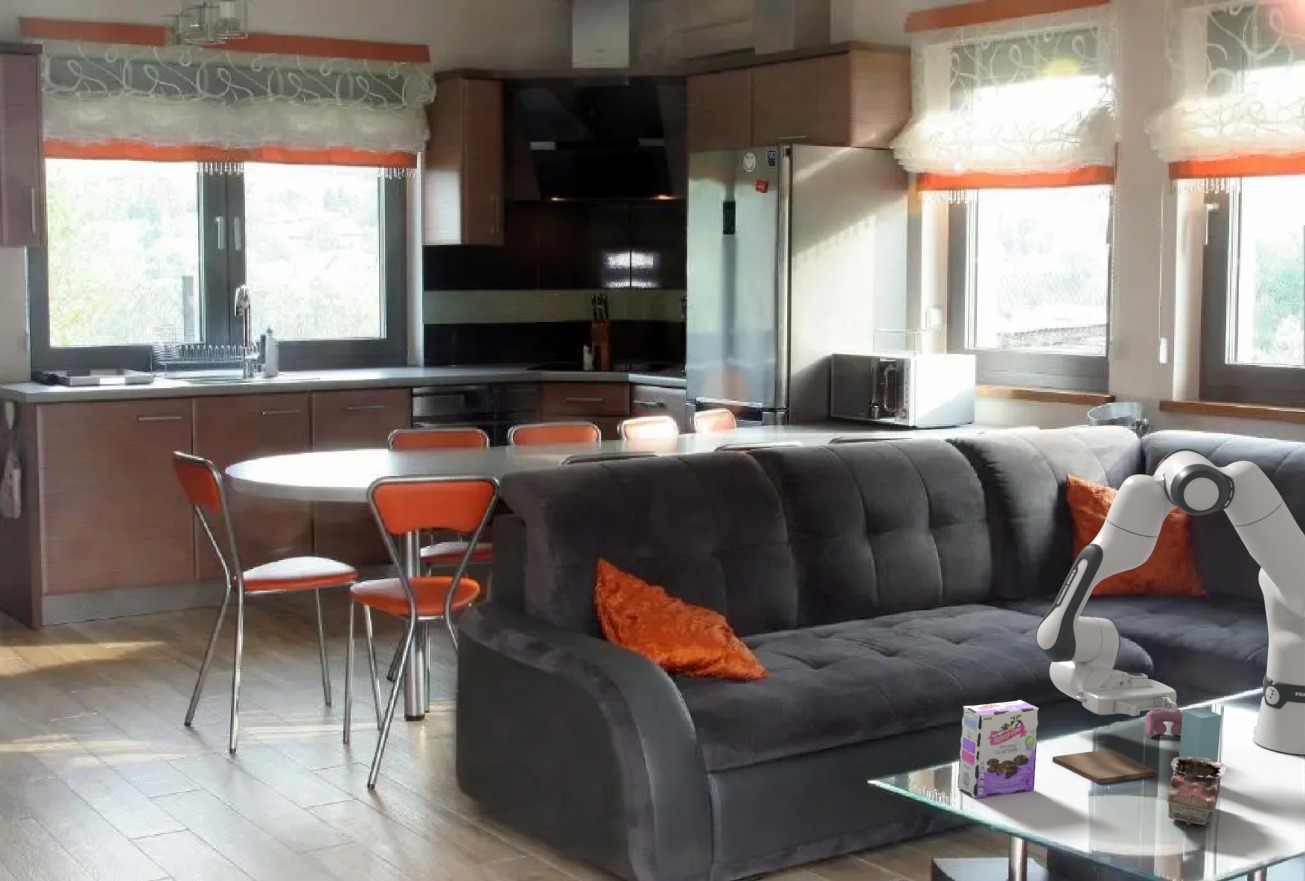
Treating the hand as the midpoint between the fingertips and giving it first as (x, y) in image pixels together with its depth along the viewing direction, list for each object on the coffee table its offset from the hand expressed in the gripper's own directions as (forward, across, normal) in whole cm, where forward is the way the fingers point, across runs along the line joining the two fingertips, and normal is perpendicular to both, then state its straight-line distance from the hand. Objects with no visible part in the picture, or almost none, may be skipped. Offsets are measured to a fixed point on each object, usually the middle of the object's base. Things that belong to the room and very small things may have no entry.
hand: (1155, 710), depth 335 cm
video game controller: (-13, +16, +11) cm, 24 cm away
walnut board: (-1, -11, +11) cm, 16 cm away
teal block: (+12, 0, +11) cm, 16 cm away
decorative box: (+29, -14, +11) cm, 34 cm away
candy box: (+2, -39, +12) cm, 41 cm away
